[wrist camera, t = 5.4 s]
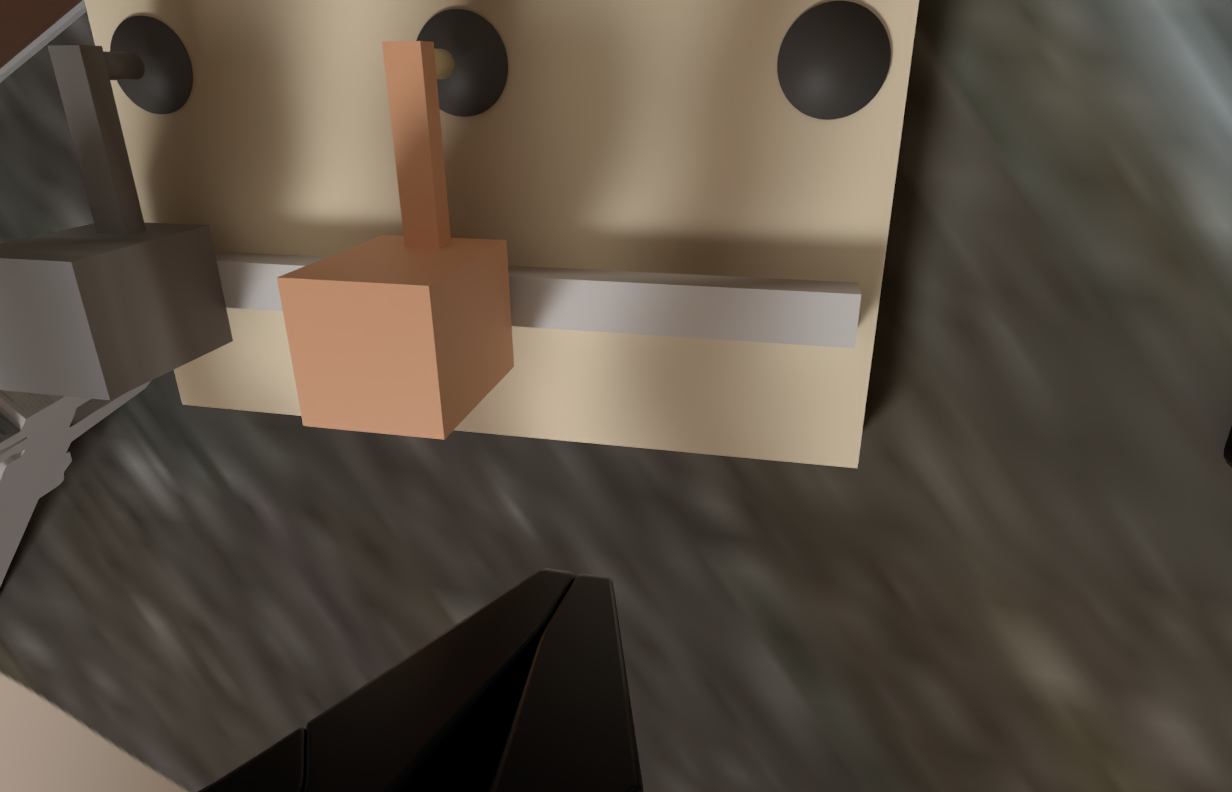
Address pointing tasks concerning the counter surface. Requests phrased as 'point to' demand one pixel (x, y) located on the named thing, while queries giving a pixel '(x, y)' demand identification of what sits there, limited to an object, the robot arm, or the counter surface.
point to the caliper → (39, 452)
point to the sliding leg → (403, 292)
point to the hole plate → (491, 205)
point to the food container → (32, 28)
